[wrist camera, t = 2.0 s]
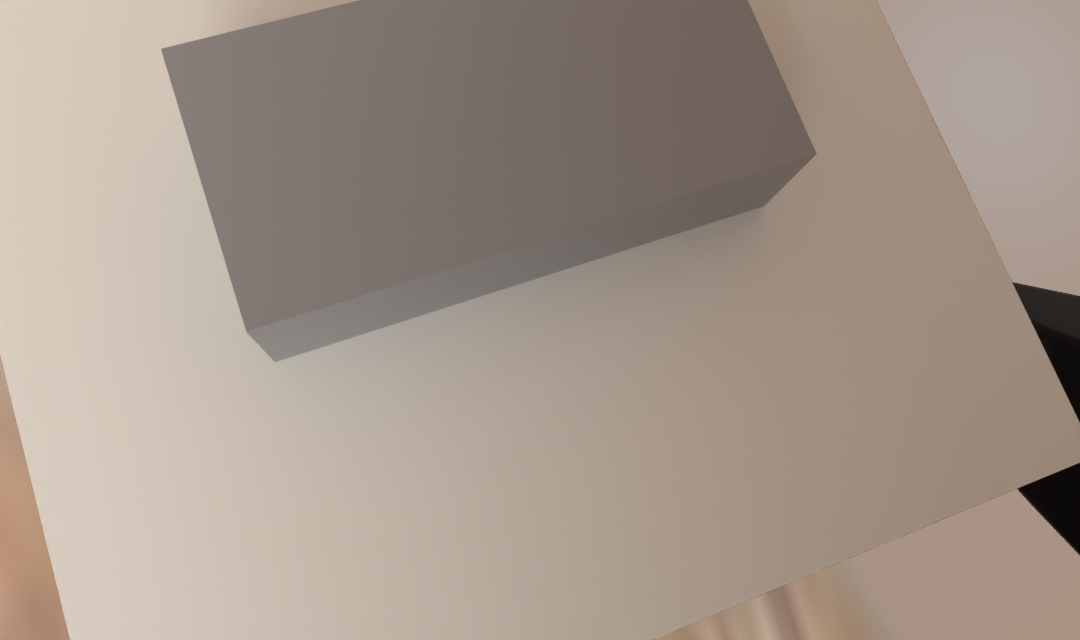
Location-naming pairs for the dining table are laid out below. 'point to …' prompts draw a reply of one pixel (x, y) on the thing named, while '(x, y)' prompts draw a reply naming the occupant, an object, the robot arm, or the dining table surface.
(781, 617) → the dining table surface
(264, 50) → the block
